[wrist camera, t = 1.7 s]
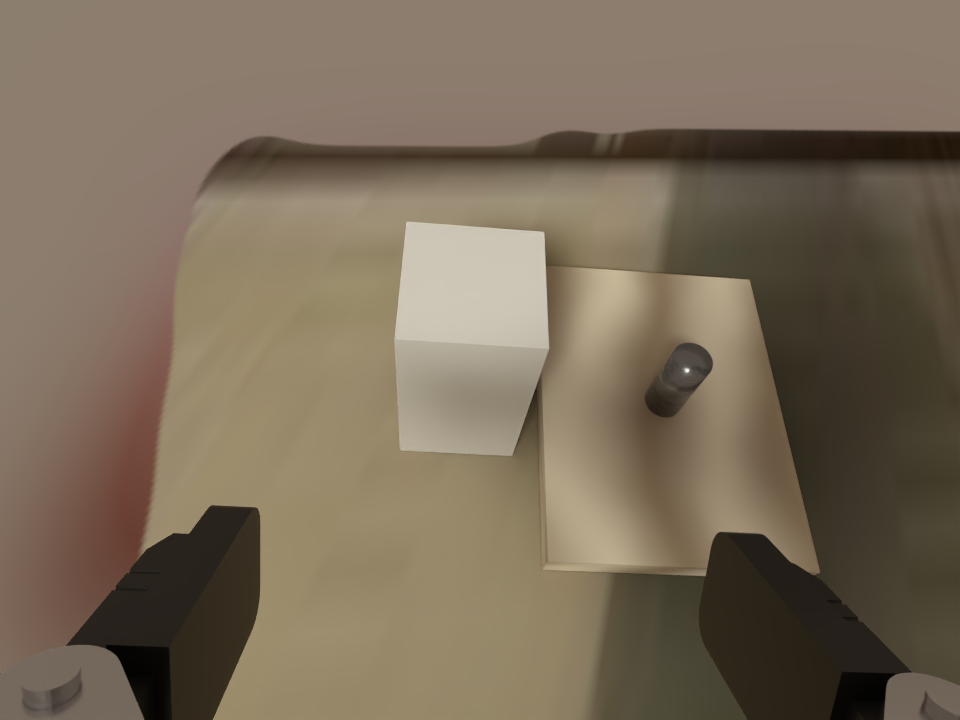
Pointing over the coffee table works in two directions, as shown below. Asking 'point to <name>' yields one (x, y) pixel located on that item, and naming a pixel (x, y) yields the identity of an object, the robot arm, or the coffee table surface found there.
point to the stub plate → (659, 425)
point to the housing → (469, 336)
